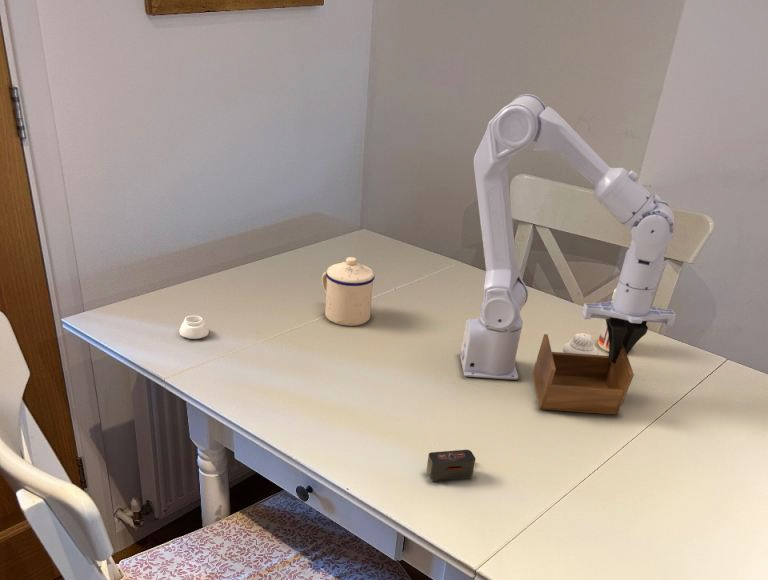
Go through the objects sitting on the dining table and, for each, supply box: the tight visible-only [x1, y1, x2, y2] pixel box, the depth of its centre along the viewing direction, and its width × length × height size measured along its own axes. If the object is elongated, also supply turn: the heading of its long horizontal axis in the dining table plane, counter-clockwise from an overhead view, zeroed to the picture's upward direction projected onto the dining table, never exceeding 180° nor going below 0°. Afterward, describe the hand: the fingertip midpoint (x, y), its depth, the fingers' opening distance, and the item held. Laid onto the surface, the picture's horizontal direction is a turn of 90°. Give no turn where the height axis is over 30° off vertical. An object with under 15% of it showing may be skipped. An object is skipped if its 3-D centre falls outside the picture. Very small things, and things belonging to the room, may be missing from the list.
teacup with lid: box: [321, 256, 376, 327], centre depth 148 cm, size 12×9×12 cm
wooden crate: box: [532, 333, 635, 415], centre depth 128 cm, size 9×13×8 cm
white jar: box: [179, 315, 210, 340], centre depth 138 cm, size 5×3×5 cm
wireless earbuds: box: [425, 449, 476, 482], centre depth 111 cm, size 5×7×3 cm, turn 105°
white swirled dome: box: [562, 332, 599, 355], centre depth 139 cm, size 6×6×7 cm
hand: (615, 359), depth 130 cm, fingers closed, pressing on wooden crate
